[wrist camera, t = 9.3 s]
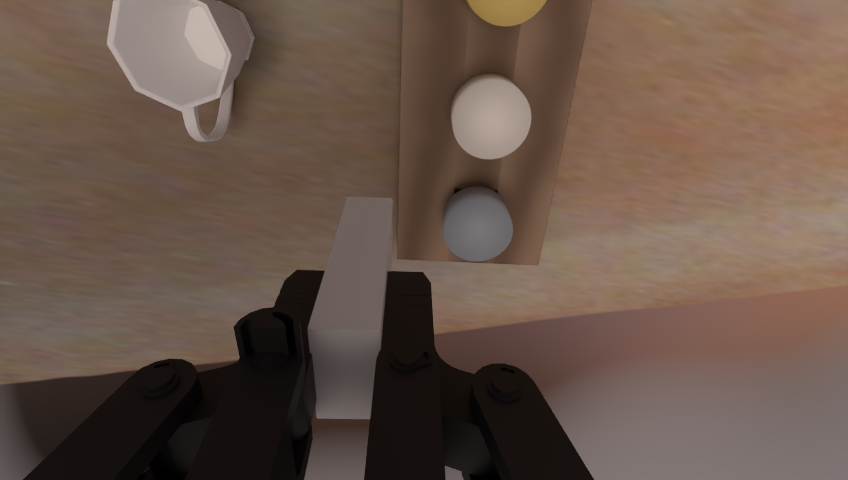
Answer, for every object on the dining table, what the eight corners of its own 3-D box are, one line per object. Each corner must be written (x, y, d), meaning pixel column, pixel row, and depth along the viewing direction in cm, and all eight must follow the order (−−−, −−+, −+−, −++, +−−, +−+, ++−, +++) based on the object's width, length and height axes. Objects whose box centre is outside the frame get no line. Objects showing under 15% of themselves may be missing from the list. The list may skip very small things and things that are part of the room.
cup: (269, -17, 31) (222, -16, 24) (280, 127, 36) (244, 163, 29) (165, -27, 31) (88, -28, 24) (190, 120, 36) (132, 154, 29)
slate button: (439, 227, 39) (441, 259, 34) (444, 171, 36) (446, 199, 32) (498, 229, 39) (507, 262, 34) (506, 174, 36) (517, 202, 32)
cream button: (446, 134, 35) (449, 157, 30) (451, 64, 32) (455, 78, 28) (512, 137, 35) (524, 161, 30) (522, 68, 32) (537, 82, 28)
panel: (399, 241, 41) (397, 259, 39) (407, -122, 28) (405, -132, 26) (531, 247, 41) (538, 265, 39) (599, -111, 29) (616, -120, 26)
